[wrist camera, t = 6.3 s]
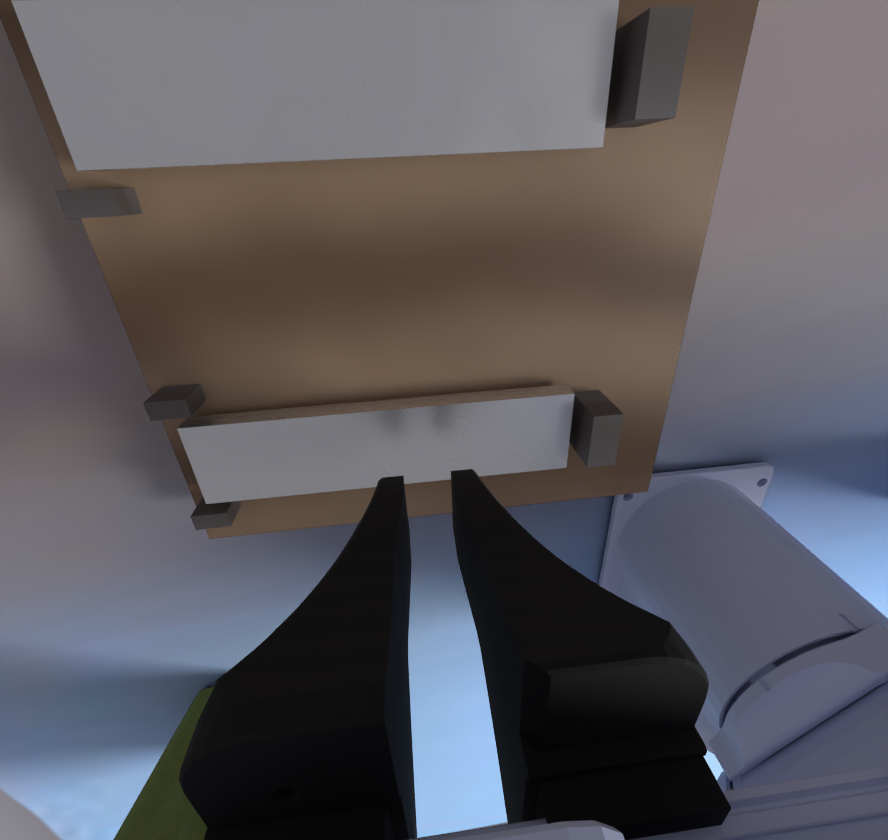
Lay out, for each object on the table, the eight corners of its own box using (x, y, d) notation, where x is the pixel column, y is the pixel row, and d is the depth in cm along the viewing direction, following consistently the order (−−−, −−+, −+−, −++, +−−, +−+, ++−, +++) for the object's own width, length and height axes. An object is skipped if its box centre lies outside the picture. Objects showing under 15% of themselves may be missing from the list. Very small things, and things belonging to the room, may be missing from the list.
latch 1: (590, 149, 12) (602, 147, 11) (97, 171, 11) (76, 170, 10) (604, 2, 10) (620, -11, 10) (39, 13, 10) (11, 0, 9)
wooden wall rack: (618, 457, 21) (673, 522, 17) (231, 495, 19) (190, 576, 15) (713, -78, 12) (871, -208, 8) (32, -77, 11) (-178, -230, 7)
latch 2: (559, 455, 17) (566, 467, 16) (214, 489, 16) (206, 503, 15) (566, 384, 15) (574, 393, 15) (187, 416, 14) (177, 428, 14)
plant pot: (327, 629, 24) (285, 930, 14) (366, 739, 30) (354, 1009, 20) (110, 664, 24) (-89, 1003, 14) (191, 769, 29) (91, 1063, 20)
